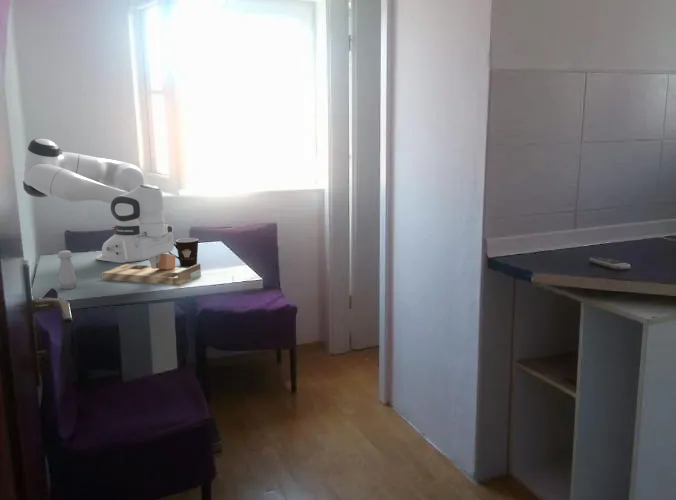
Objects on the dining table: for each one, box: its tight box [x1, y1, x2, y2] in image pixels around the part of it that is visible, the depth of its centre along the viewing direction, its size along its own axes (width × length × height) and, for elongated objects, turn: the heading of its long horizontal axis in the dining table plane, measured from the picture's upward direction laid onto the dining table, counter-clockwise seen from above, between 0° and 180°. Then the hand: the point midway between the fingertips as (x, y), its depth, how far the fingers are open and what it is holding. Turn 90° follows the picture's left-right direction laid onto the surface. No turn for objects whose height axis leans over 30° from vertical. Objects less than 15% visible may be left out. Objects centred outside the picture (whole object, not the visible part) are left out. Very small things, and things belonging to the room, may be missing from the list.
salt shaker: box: [57, 249, 78, 290], centre depth 217 cm, size 6×6×13 cm
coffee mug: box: [167, 237, 199, 268], centre depth 249 cm, size 12×9×10 cm
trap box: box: [101, 263, 202, 286], centre depth 231 cm, size 32×14×4 cm, turn 72°
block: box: [158, 253, 177, 269], centre depth 232 cm, size 5×5×5 cm
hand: (155, 268), depth 229 cm, fingers closed
